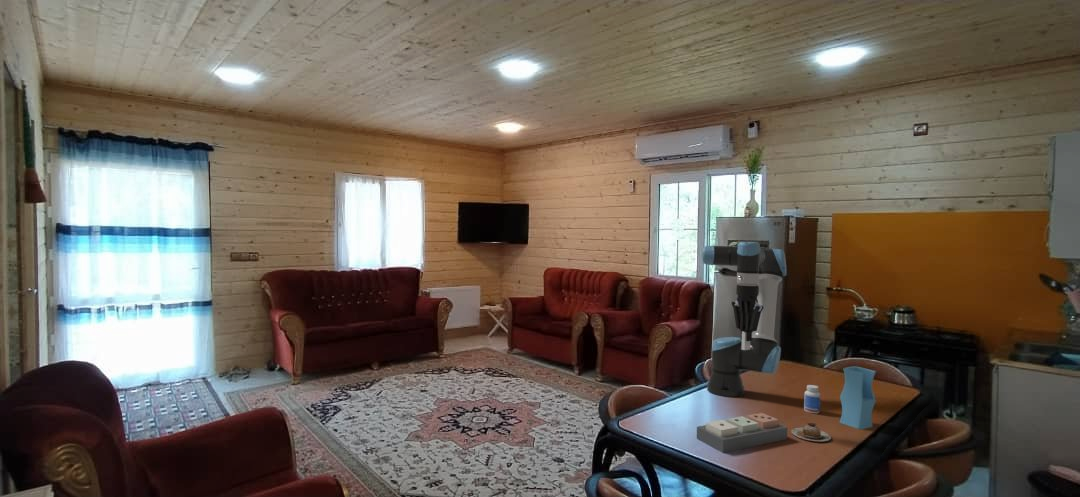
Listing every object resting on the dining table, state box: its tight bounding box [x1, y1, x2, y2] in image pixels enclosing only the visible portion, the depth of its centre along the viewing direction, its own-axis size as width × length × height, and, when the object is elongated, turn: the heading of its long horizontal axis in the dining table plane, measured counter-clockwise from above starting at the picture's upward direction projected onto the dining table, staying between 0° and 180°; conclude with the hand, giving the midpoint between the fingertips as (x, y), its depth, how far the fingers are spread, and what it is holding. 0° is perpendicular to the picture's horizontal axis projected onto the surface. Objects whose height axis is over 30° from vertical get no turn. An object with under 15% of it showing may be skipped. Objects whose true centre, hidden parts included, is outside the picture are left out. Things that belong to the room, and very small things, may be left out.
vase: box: [839, 366, 877, 430], centre depth 190 cm, size 8×8×20 cm
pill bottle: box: [803, 384, 821, 414], centre depth 204 cm, size 6×5×10 cm
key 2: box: [726, 415, 759, 433], centre depth 176 cm, size 7×7×4 cm
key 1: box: [705, 419, 738, 437], centre depth 172 cm, size 7×7×4 cm
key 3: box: [746, 412, 779, 429], centre depth 179 cm, size 7×7×4 cm
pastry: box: [791, 422, 832, 443], centre depth 179 cm, size 12×12×5 cm
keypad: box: [696, 420, 788, 453], centre depth 176 cm, size 12×28×4 cm, turn 114°
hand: (745, 349), depth 191 cm, fingers closed
